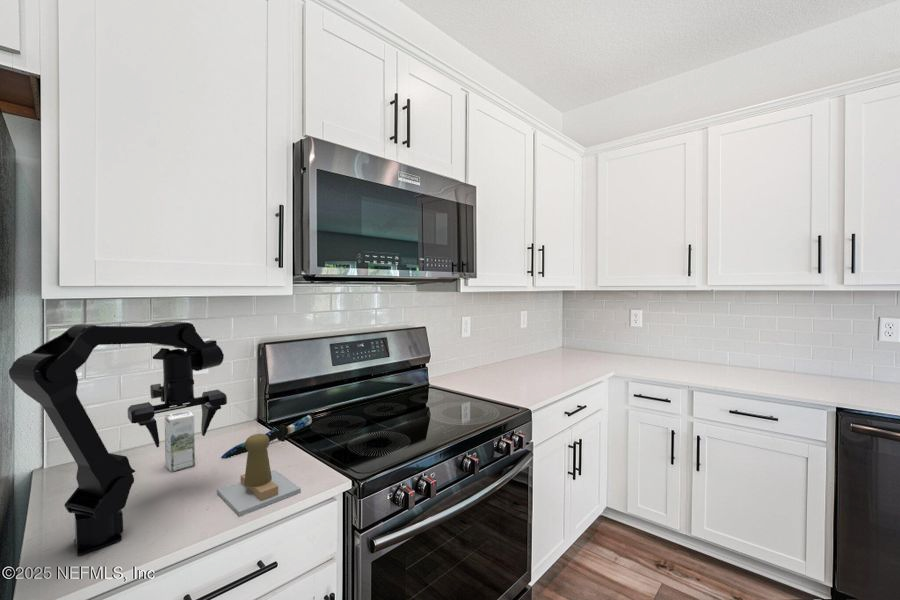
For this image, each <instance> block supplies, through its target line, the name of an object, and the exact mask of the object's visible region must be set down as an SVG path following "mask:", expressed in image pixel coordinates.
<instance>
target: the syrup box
mask: <svg viewBox="0 0 900 600" xmlns="http://www.w3.org/2000/svg"><path fill="white" fill-rule="evenodd" d="M164 441H165V442H164V446H165V447H164V449H165V451H164V452H165V467H166V468H167V469H168V470H169V471H170V473H172V472H173V473H174V472H177V471H181V470H184V468H185V469H187V468H190V467H194V465H196V457H195V456H196V455H195V454H196V451H195V450H196V448H195V447H196V446H195V415H194V414H193V413H192V412H191V411H190V410H185V411H177V412H174V413H167V414H165V415H164Z"/></svg>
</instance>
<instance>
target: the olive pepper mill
mask: <svg viewBox="0 0 900 600" xmlns="http://www.w3.org/2000/svg"><path fill="white" fill-rule="evenodd" d="M265 434H266V433H254V434H252V435H250V436H248V437H247V438H246V439H245V441H244V442H245V447H246V449H247V456H246V457H247V458H246V463H245V464H246V465H245V473H244V474H245V479H244V485H245V486H247V487H258V486H262V485H265V484H267V483H269V482H270V481H271V480H272V476H271V471H272V469H271V466H270V459H269V453H268V452H269V451H268V447H269V446H270V442H269V437H268V436H267V435H265Z"/></svg>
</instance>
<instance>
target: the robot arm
mask: <svg viewBox="0 0 900 600" xmlns="http://www.w3.org/2000/svg"><path fill="white" fill-rule="evenodd" d="M139 344H150V345H157V346H163V347H161V348H159V350H158V351H157V352H156V353H155V354H154V355H153V356H152V359H153V360H162V366H163V367H162V369H163V370H162V371H163V372H162V373H163V385H161V383H154V384H151V385H150V388H149V389H150V398H151V399H152V400H153V399H159V398H160V402H162V403H161V404H156V405H153V404H151V403H150V401H146V402H143V403H137V404H136V403H135V404H131V405H129V407H128V408H127V419H128V421H130V422H131V424H138V425H139V426H140V427H143V426H145V427H146V429H147V430H148V432H149V434H150V437H151V439H152V441H153V443H154V445H155V447H156V448H160V437H159V431H158V424H157V420H156V419H155V418H154V417H155V415H157V414H160V413H161V414H162V413H166V412H171V411H177V410H181V409H185V408H187V409H188V408H191V407H196V406H201V426H200V428H201V429H200V431H201V436H202V437H205V436H206V434H207V431H208V429H209V426H210V424H211V422H212V419H213V418H214V417H215V414H216V413H217V411H218V410H221V409H222V406H225V405H227V404H228V397H227V394H226V393H225V392H223V391H221V390H220V389H213V390H208V391H203V392H202V395H201V396H197V397H195V394H194V393H195V391H194V389H195V388H194V385H195V379H194V372H200V371H202V370H207V369H210V368H215V367H219V366H220V365H221V364H222V363H224V358H225V357H224V353H223V350H222V348H221V347H220V346H219V345H218V344H217V340H215V339H209V340H204V339H203V338H202V337H201V336H200V335H199V333H198V332H197V330H196V327H195V326H194V324H193V323H191V322H185V321H184V322H183V321H182V322H181V321H163V322H156V323H153V324H149V325H142V326H141V325H136V326H135V325H95V324H75V325H72V326H71V327H69V328H68V329H67V330H66V331H64V332H63V333H61V334H59V335H58V336H56V337H54V338H52V339H51V340H49V341H47V342H45V343H43V344H41V345H39V346H38V347H36V348H35V349H33V351H31V352H30V353H26V354H23V355H22V356H19V357H18V358H17V359H16V360H15V361H14V362H12V365H11V367H10V368H9V369H8V375H9V378H10V379H11V381H12V382H13V383H14V384H15V385H16V386H17V387H18V388H19V389H20V390H21V391H22V392H23V393H24V394H25V395H26V396H29V397H30V398H31V399H33V400H34V401H35V402H37V403H39V404H40V406H41V407H42V408H43V410H44V411H45V413H46V415H47V416H48V417H49V419H50V420H49V421H51V423H52V425H53V426H54V428H55V429H56V431H57V433H58V435H59V436H60V438H61V440H62V441H63V443H64V444H65V446H66V448H67V451H69V453H70V455H71V457H72V458H73V460H74V461H75V463H76V465H77V471H76V476H75V479H76V482H77V485H78V486H77V487H76V489H75V490H74V492H73V493H72V494H71V495H70V496H69V498H68V499H67V500H66V502H65V503H64V505H63V506H64V508H65V509H66V511H67V512H68V513H69V514H74V531H75V532H74V534H75V535H74V536H75V538H74V539H73V543H74V544H73V545H74V547H75V552H76V555H77V556H82V555H85V554H88V553H90V552H93V551H95V550H99V549H102V548H105V547H107V546H109V545H112V544H114V543H118V542H120V541H122V539H123V537H122V534H123V533H124V514H123V511H122V510H123V509H124V508H125V507H126V504H127V500H128V498H129V495H130V492H131V489H132V486H133V484H134V483H135V477H134V474H133V473H135V472H136V470H135V469H133V467H132V466H131V464H130V460H129V458H128V457H127V456H126V455H121V454H117V453H116V454H115V453H110V452H109V451H108V449H107V447H106V445H105V444H104V442H103V440H102V438H101V436H100V434H99V432H98V431H97V430H96V428H95V426H94V424H93V422H92V420H91V418H90V417H89V415H88V413H87V412H86V409H85V407H84V405H83V404H82V402H81V401H80V398H79V396H78V393H77V391H78V384H79V378H78V375H77V370H78V369H79V368H81V366H83V365H84V364H85V363H86V362H87V360H88V359H89V357H90V355H91V354H92V352H93V350H94V349H95V348H97V346H101V345H102V346H103V345H104V346H105V345H106V346H107V345H109V346H110V345H139ZM164 347H168V348H164ZM169 347H173V348H175V349H170V348H169Z"/></svg>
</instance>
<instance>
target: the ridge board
mask: <svg viewBox="0 0 900 600" xmlns="http://www.w3.org/2000/svg"><path fill="white" fill-rule="evenodd" d="M271 476H272V480H271V481H270V482H269V483H267V484H265V485H262V486H258V487H247V486H245V485H244V479H245V473H243V474H241V475H240V480H239V481H238V482H234V483H231V484H229V485H226V486H223V487H219V488H217V489H216V494H217V493H218V494H219V495H220V496H221V497H222V498H223V499H224V500H225V501H226V502H227V503H226V502H225V501H224V500H223V499H222V498H221V497H220V496H219V495H218V494H217V495H218V496H219V497H220V498H221V499H222V500H223V501H224V502H225V503H226V504H227V506H228V507H230V509H231V508H232V509H233V510H234V511H235V512H234V511H233V510H232V509H231V510H232V511H233V512H234V513H235V514H236V515H237V516H238V517H242V516H244V515H247V514H250V513H252V512H254V511H256V510H257V511H258V510H260V509H263V508H266V507H267V506H269V505H272V504H274V503H277V502H279V501H283V500H285V499H288V498H289V497H293V496H295V495H298V494H299V493H301V492H302V489H301V487H300V486H299V485H297V484H296V483H294V482H293V481H291V480H290V479H289V478H288V477H286V476H285V475H283V474H282V473H280V472H279V471H278V470H276V469H273V470H271Z"/></svg>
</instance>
